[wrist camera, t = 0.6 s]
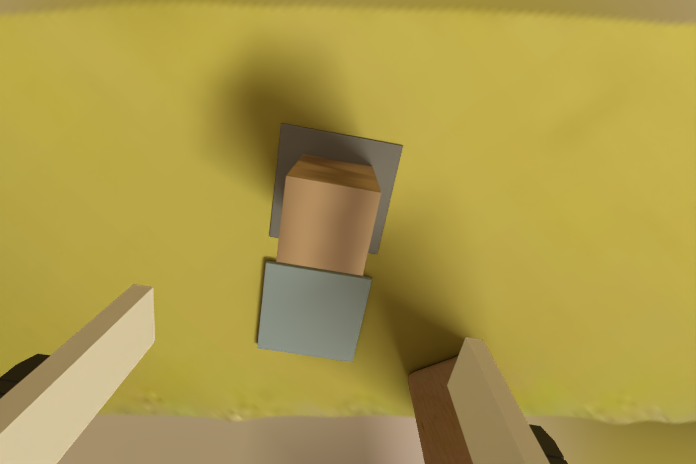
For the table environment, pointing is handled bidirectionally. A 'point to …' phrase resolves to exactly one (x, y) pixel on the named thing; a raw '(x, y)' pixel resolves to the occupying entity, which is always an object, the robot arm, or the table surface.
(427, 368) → the wooden block
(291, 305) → the pad
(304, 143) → the plate
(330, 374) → the table surface
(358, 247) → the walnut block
